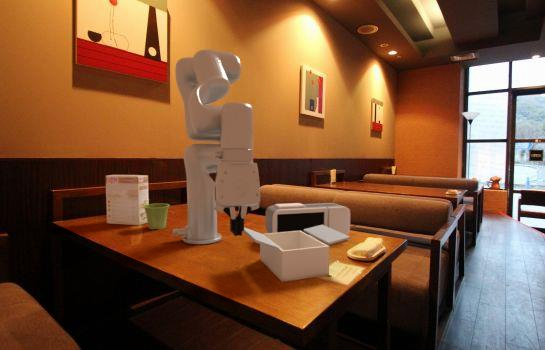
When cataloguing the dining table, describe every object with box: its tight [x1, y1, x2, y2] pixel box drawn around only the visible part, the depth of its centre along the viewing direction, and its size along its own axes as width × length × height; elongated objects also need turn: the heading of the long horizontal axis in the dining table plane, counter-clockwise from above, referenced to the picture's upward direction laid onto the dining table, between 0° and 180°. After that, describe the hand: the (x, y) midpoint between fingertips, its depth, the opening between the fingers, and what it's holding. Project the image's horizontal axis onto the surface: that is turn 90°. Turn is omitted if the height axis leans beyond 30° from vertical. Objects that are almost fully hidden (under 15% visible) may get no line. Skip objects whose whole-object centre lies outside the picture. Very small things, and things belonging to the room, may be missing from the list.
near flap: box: [242, 227, 279, 250], centre depth 77 cm, size 6×14×1 cm, turn 21°
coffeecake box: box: [105, 174, 150, 226], centre depth 129 cm, size 15×7×20 cm, turn 77°
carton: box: [259, 231, 330, 283], centre depth 81 cm, size 12×16×7 cm
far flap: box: [304, 225, 352, 246], centre depth 84 cm, size 6×14×1 cm, turn 20°
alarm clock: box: [265, 202, 351, 241], centre depth 108 cm, size 27×9×12 cm, turn 107°
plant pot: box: [143, 203, 171, 230], centre depth 121 cm, size 9×9×9 cm
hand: (237, 234), depth 76 cm, fingers closed
